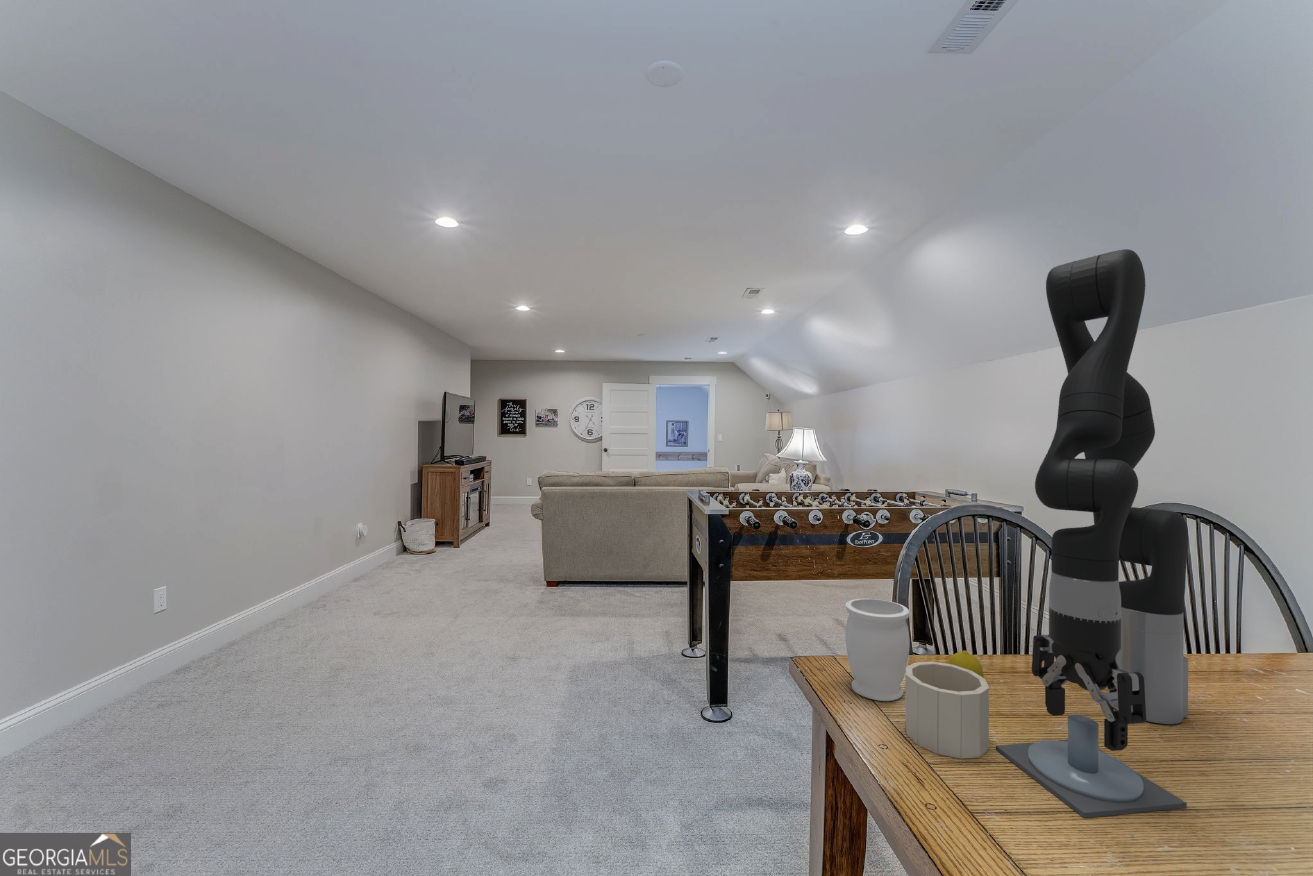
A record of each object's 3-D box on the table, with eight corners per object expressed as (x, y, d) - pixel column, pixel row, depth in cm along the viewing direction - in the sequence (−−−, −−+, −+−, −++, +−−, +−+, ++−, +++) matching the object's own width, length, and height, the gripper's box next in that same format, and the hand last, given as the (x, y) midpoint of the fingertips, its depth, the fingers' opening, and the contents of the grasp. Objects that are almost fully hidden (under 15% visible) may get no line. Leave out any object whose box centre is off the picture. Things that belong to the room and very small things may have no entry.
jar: (876, 710, 89) (876, 619, 89) (832, 684, 98) (833, 601, 98) (923, 698, 93) (923, 611, 93) (876, 673, 103) (876, 595, 103)
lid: (1082, 743, 79) (1082, 696, 78) (1170, 798, 67) (1170, 743, 67) (1007, 749, 77) (1007, 701, 77) (1083, 806, 65) (1083, 750, 65)
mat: (1082, 742, 80) (1082, 738, 80) (1186, 807, 66) (1186, 802, 66) (995, 749, 78) (995, 745, 78) (1084, 818, 64) (1084, 813, 64)
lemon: (989, 706, 90) (989, 658, 90) (952, 703, 91) (953, 656, 91) (976, 691, 96) (976, 646, 96) (942, 688, 97) (942, 643, 97)
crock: (954, 715, 87) (954, 660, 87) (1005, 755, 77) (1005, 691, 76) (891, 720, 86) (891, 663, 86) (934, 761, 75) (935, 696, 75)
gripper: (1165, 626, 65) (1164, 760, 65) (1062, 592, 79) (1061, 702, 79) (1110, 629, 64) (1109, 765, 64) (1015, 594, 78) (1015, 705, 78)
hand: (1083, 730), depth 72 cm, fingers open, 8 cm apart
